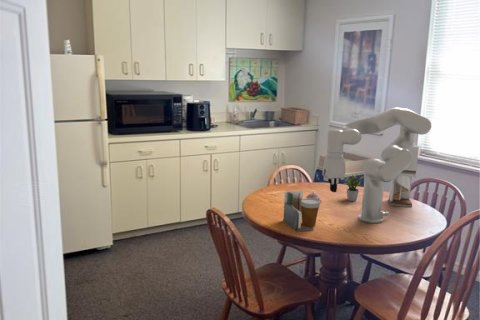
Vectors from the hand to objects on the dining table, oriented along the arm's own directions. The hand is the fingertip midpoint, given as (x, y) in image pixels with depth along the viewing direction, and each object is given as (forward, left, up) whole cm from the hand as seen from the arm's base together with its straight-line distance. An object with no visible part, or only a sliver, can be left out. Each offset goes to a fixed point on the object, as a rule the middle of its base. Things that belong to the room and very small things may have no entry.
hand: (333, 191), depth 200 cm
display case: (-56, -20, -16) cm, 61 cm away
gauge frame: (+17, 0, -16) cm, 24 cm away
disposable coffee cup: (+12, 0, -16) cm, 20 cm away
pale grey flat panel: (+20, 0, -16) cm, 26 cm away
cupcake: (-1, -22, -16) cm, 28 cm away
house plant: (-32, -31, -16) cm, 47 cm away
